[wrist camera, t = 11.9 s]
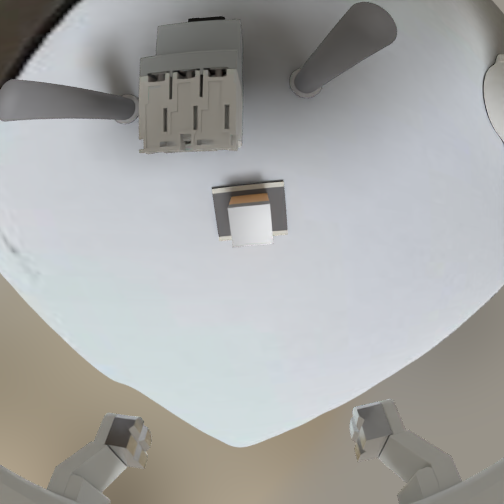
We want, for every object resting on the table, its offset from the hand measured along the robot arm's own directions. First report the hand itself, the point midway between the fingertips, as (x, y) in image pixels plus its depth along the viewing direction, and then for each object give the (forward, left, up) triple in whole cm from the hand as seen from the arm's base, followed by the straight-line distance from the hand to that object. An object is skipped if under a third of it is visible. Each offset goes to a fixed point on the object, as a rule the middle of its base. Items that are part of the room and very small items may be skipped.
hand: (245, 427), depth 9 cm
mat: (0, 0, -31) cm, 31 cm away
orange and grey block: (0, 0, -30) cm, 30 cm away
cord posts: (+3, -16, -31) cm, 35 cm away
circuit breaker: (+3, -16, -31) cm, 35 cm away
